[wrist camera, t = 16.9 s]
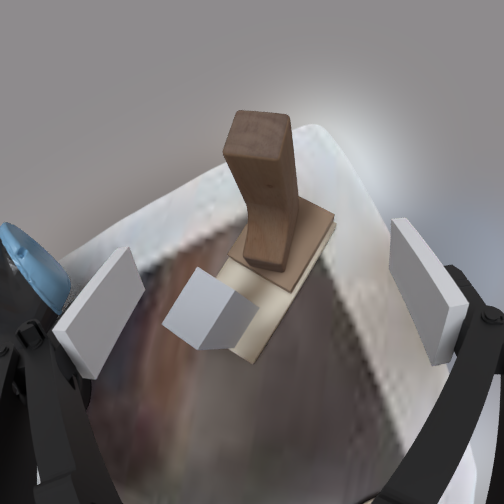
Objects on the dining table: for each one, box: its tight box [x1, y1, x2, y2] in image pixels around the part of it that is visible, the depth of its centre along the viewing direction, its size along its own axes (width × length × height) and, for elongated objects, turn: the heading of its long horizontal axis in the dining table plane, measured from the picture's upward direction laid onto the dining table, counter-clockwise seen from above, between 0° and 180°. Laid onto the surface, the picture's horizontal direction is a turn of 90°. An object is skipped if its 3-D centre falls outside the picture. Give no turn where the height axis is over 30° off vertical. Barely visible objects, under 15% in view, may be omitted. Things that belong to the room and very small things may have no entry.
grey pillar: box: [162, 267, 259, 350], centre depth 34 cm, size 4×6×14 cm, turn 148°
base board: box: [216, 196, 337, 364], centre depth 41 cm, size 10×21×4 cm, turn 148°
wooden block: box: [223, 110, 299, 273], centre depth 31 cm, size 9×4×18 cm, turn 166°
